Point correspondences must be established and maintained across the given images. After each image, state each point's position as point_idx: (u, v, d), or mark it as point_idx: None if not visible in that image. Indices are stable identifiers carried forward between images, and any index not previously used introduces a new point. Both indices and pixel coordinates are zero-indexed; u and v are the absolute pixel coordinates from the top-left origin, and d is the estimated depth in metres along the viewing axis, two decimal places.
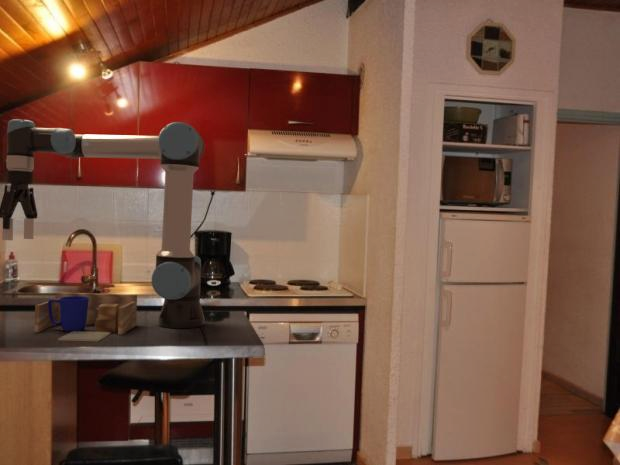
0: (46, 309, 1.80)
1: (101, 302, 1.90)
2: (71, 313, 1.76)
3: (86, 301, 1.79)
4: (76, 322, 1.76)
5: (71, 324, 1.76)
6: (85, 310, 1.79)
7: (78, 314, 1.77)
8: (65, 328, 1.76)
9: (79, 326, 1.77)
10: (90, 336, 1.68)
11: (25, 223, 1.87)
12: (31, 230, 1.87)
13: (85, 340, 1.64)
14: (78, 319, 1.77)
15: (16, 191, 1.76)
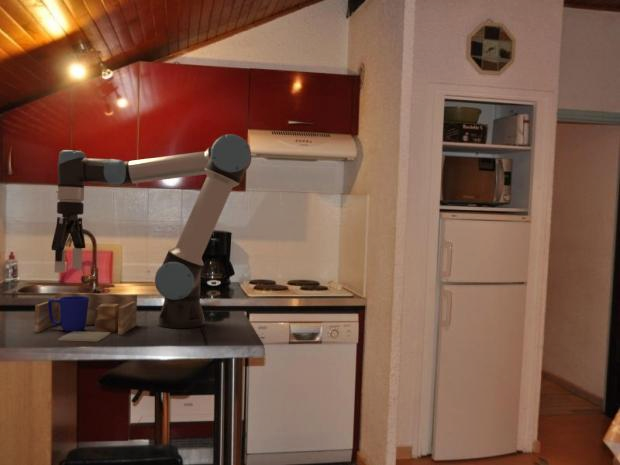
0: (46, 309, 1.80)
1: (101, 302, 1.90)
2: (71, 313, 1.76)
3: (86, 301, 1.79)
4: (76, 322, 1.76)
5: (71, 324, 1.76)
6: (85, 310, 1.79)
7: (78, 314, 1.77)
8: (65, 328, 1.76)
9: (79, 326, 1.77)
10: (90, 336, 1.68)
11: (74, 253, 1.86)
12: (80, 260, 1.86)
13: (85, 340, 1.64)
14: (78, 319, 1.77)
15: (67, 223, 1.75)
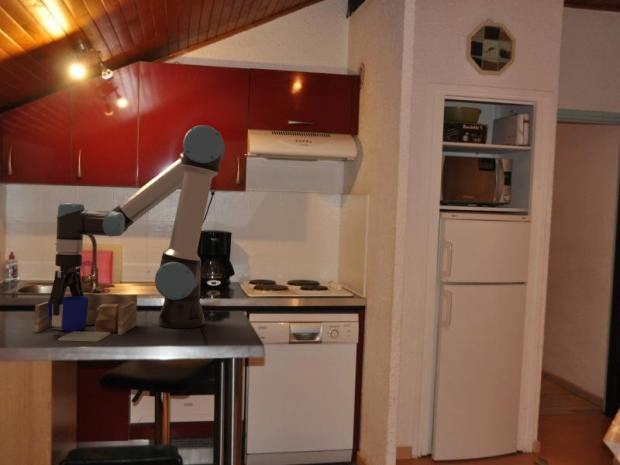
0: (46, 309, 1.80)
1: (101, 302, 1.90)
2: (71, 313, 1.76)
3: (86, 301, 1.79)
4: (76, 322, 1.76)
5: (71, 324, 1.76)
6: (85, 310, 1.79)
7: (78, 314, 1.77)
8: (65, 328, 1.76)
9: (79, 326, 1.77)
10: (90, 336, 1.68)
11: None
12: None
13: (85, 340, 1.64)
14: (78, 319, 1.77)
15: (66, 275, 1.75)
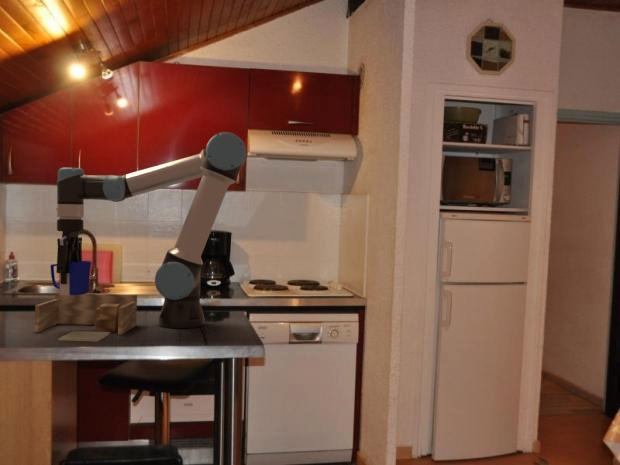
0: (46, 309, 1.80)
1: (101, 302, 1.90)
2: (74, 276, 1.76)
3: (88, 264, 1.79)
4: (79, 286, 1.76)
5: (74, 287, 1.76)
6: (87, 273, 1.79)
7: (81, 277, 1.77)
8: None
9: (82, 289, 1.77)
10: (90, 336, 1.68)
11: None
12: None
13: (85, 340, 1.64)
14: (81, 282, 1.77)
15: (68, 240, 1.76)
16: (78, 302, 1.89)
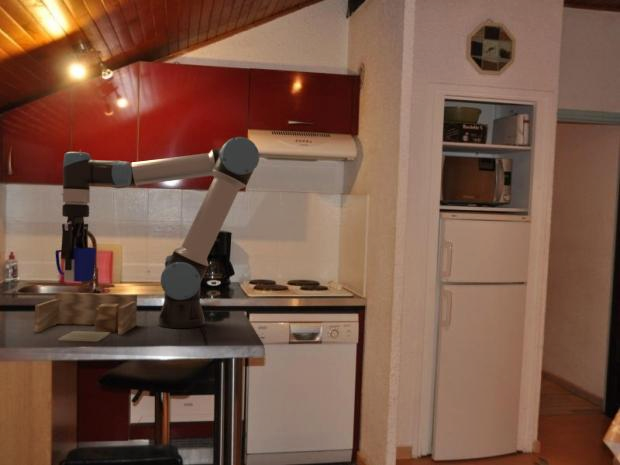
0: (46, 309, 1.80)
1: (101, 302, 1.90)
2: (78, 262, 1.73)
3: (93, 251, 1.75)
4: (84, 272, 1.73)
5: (79, 273, 1.73)
6: (92, 260, 1.75)
7: (86, 264, 1.73)
8: None
9: (87, 276, 1.74)
10: (90, 336, 1.68)
11: None
12: None
13: (85, 340, 1.64)
14: (85, 269, 1.74)
15: (73, 226, 1.73)
16: (78, 302, 1.89)
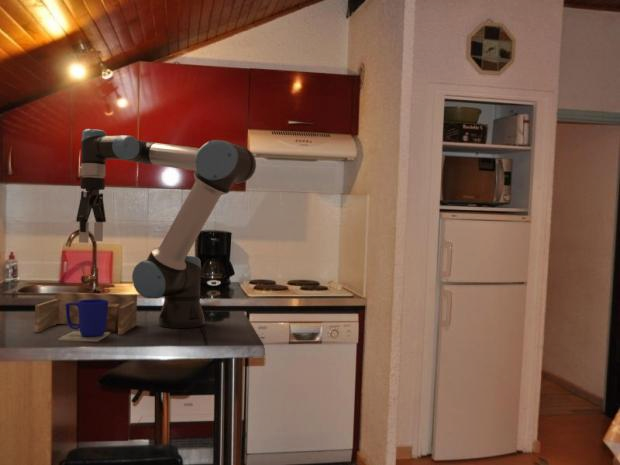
0: (46, 309, 1.80)
1: None
2: (90, 317, 1.66)
3: (106, 304, 1.69)
4: (96, 327, 1.67)
5: (91, 329, 1.66)
6: (105, 314, 1.69)
7: (98, 318, 1.67)
8: (84, 333, 1.67)
9: (99, 331, 1.67)
10: None
11: (95, 226, 1.98)
12: (101, 233, 1.99)
13: (85, 340, 1.64)
14: (98, 324, 1.67)
15: (90, 196, 1.88)
16: None
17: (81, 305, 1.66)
